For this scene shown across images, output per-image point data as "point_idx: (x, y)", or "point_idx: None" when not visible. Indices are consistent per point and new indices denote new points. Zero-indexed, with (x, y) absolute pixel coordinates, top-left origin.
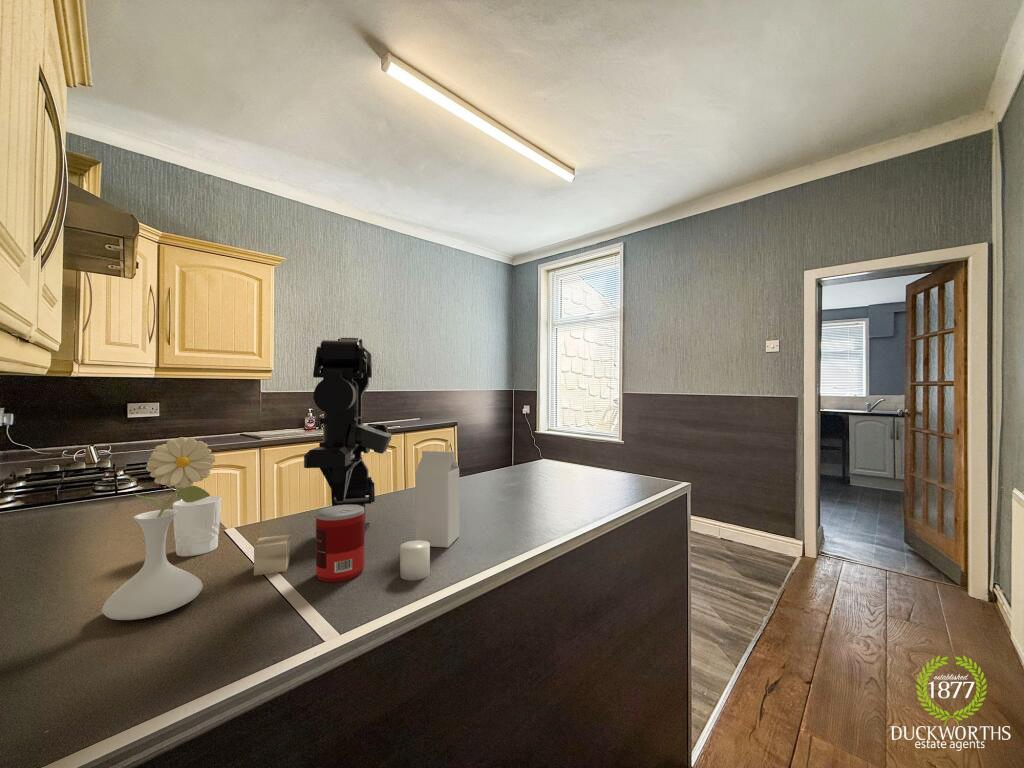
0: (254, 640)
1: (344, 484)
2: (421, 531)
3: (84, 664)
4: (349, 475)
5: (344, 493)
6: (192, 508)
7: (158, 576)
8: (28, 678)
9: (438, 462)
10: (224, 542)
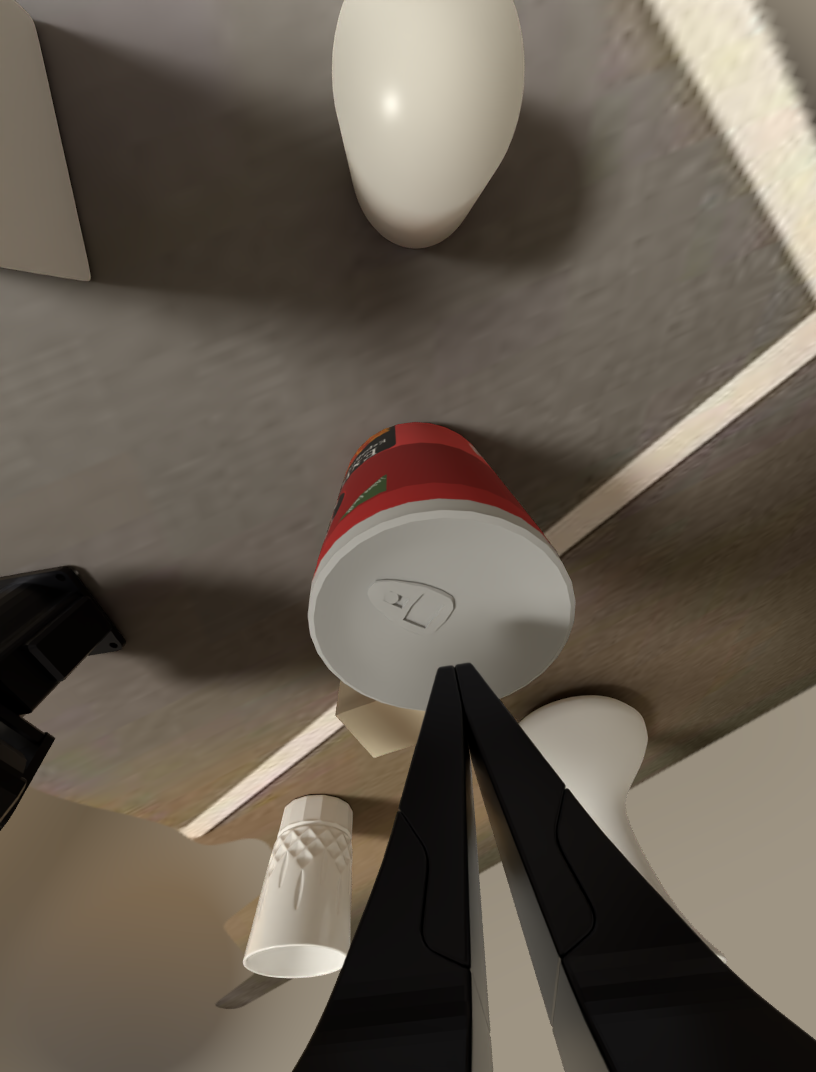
0: (753, 511)
1: (556, 779)
2: (18, 221)
3: (725, 693)
4: (460, 882)
5: (496, 699)
6: (341, 939)
7: (623, 778)
8: (736, 719)
9: None
10: (266, 802)
